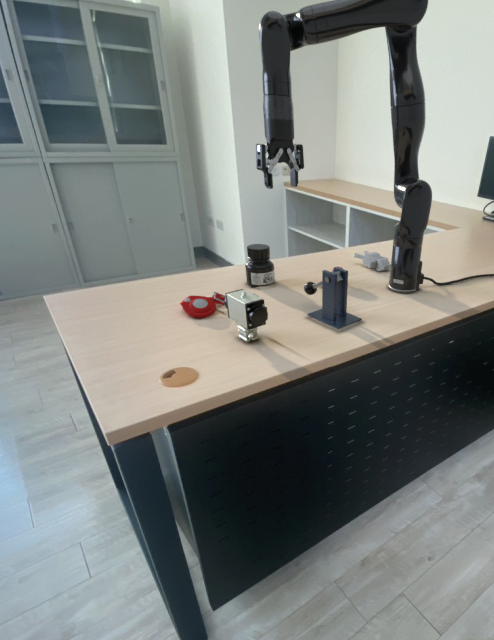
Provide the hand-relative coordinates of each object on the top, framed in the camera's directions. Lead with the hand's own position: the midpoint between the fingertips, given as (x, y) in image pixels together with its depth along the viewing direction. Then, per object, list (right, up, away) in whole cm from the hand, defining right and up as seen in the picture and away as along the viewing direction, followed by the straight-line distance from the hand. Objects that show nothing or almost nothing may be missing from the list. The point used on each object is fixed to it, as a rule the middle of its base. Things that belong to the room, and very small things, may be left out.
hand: (282, 187), depth 111 cm
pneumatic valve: (-6, -43, -12) cm, 45 cm away
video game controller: (+12, -21, +24) cm, 34 cm away
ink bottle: (-11, -22, +20) cm, 32 cm away
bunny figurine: (+27, -11, +42) cm, 51 cm away
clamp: (+14, -37, -1) cm, 39 cm away
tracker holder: (-21, -34, 0) cm, 40 cm away
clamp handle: (+12, -29, -3) cm, 31 cm away
